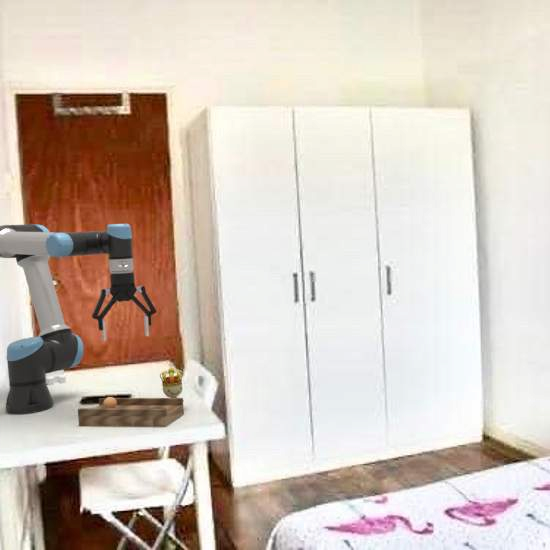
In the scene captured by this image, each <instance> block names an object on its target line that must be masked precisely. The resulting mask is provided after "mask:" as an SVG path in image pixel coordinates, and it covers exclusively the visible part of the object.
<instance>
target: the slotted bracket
mask: <svg viewBox="0 0 550 550" xmlns="http://www.w3.org/2000/svg"><path fill="white" fill-rule="evenodd" d="M45 376H46V385H47V386H51V385H52V386H53V385H54V384H56V383H60V384H66V383H67V381H66V380H67V378H66V375H65V371H64V370H59V371H55V372H51V373H46V374H45Z"/></svg>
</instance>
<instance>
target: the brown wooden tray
mask: <svg viewBox="0 0 550 550" xmlns="http://www.w3.org/2000/svg"><path fill="white" fill-rule="evenodd" d="M106 398H107V397H102V398H101V397H100V398H99V399H98V405H97V406H95V407H94V408H83V407H82V408H80V407H79V408H78V409H77V416H78V417H77V418H78V419H77V420H78V426H79V427H147V428H148V427H150V428H151V427H153V428H154V427H161V428H163V427H165V428H166V427H168V426H170V425H171V424H172V423H174V422H175V421H176V420H178V418H181V416H183V415H184V414H185V410H184V402H183V400H184V398H183V397H178V398H170V397H114V398H115V399H116V401H117V405H116V407H115V408H114V409H113V408H105V407H104V405H103V403H104V400H105V399H106Z"/></svg>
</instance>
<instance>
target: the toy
mask: <svg viewBox="0 0 550 550" xmlns="http://www.w3.org/2000/svg"><path fill="white" fill-rule="evenodd" d="M168 366H170V367H169V369H168V370H164V371H161V373H160V374H159V377H160V379H161V381H162V382H161V386H162V393H163V394H164V395H165V396H166V398H179V396H180V395H181V394H182V392H183V381H182V380H183V379H182V378H183V376H184V372H183V371H182V370H181V369H180V370H179V369H175V368H172V362H171V363H169V364H168ZM167 374H168V376H167ZM175 374H176V375H175ZM183 403H184V399H183Z"/></svg>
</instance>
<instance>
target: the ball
mask: <svg viewBox="0 0 550 550" xmlns="http://www.w3.org/2000/svg"><path fill="white" fill-rule="evenodd" d="M105 398H106V399H105V400H104V403H103V405H104V407H105V408H113V409H114V408H115V407H116V405H117V401H116V399H115V398H116V397H113V396H108V397H105Z"/></svg>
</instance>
